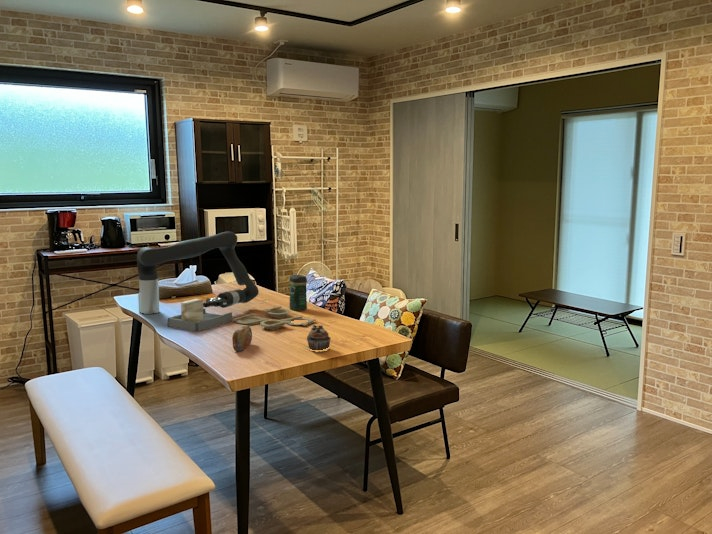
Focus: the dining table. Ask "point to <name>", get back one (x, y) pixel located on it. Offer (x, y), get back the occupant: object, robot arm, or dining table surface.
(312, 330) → the cupcake
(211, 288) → the dining table surface
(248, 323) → the tableware set
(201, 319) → the birch block
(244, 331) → the brown flat stone
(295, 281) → the coffee jar
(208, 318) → the grey tray
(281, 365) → the dining table surface
